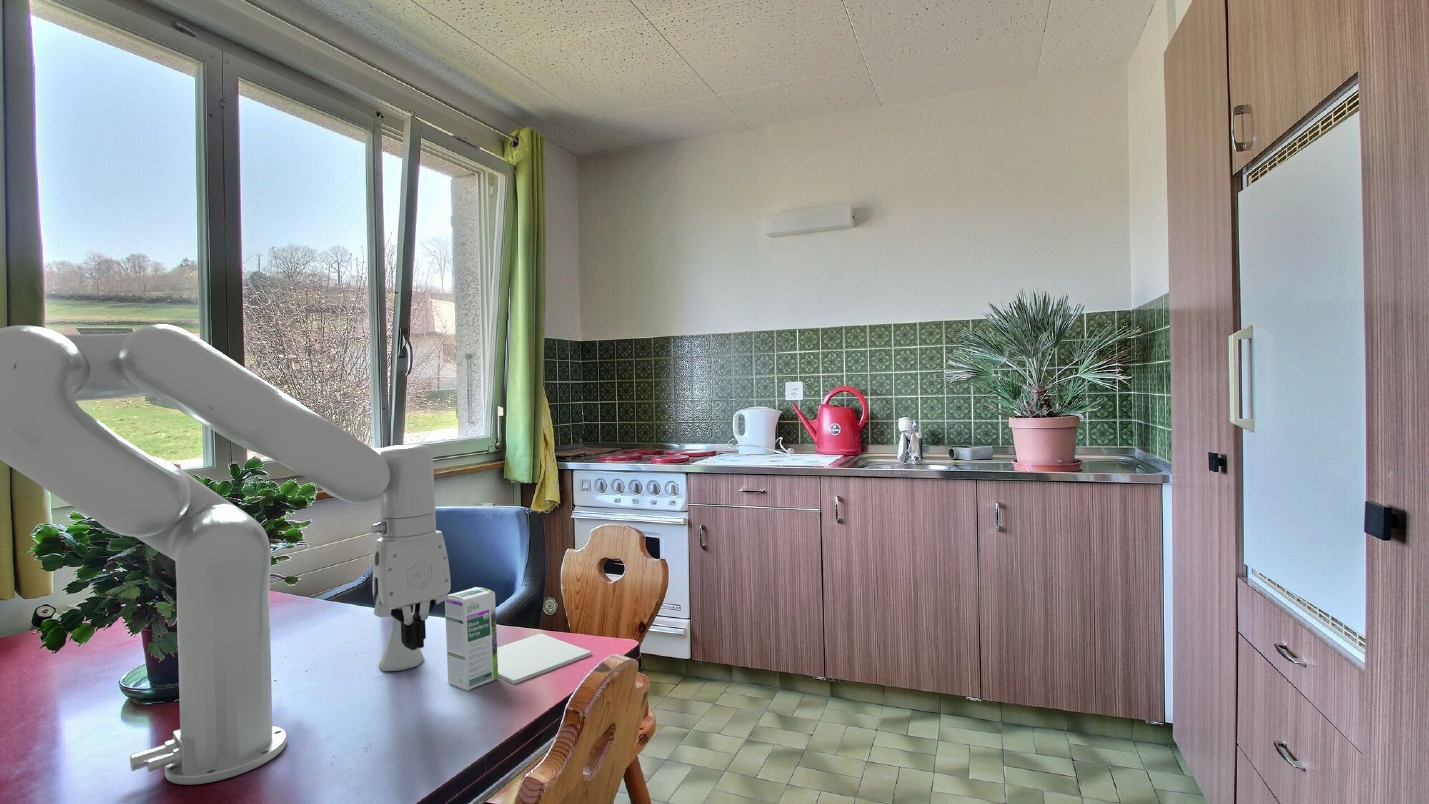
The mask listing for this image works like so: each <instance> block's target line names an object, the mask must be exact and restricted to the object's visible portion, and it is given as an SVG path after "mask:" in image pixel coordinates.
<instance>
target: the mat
mask: <svg viewBox="0 0 1429 804" xmlns="http://www.w3.org/2000/svg"><path fill="white" fill-rule="evenodd" d="M589 656H592V651H591V650H588V649H586V648H583V647H580V646H577V645H575V644H572V643H568V642H566V641H563V640H560V639H558V638H554V637H553V636H550V635H546V634H544V633H538V634H535V635H531V636H529V637H528V636H527V637H526V638H523V639H520V640H516V641H513V642H511V643H507V644H504V645H501V646H497V660H498V679H499V678H500V679H501V680H503V681H505V682H508V683H509V684H513V685H517V684H519V683H521V682H524V681H527V680H529V679H532V678H534V677H537V676H541V675H542V674H545V673H548V672H550V671H553V670H556V669H558V668H561V667H564V666H567V665H569V664H571V663H574V662H577V661H579V660H581V659H584V658H587V657H589Z"/></svg>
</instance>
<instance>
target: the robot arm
mask: <svg viewBox="0 0 1429 804" xmlns="http://www.w3.org/2000/svg"><path fill="white" fill-rule="evenodd" d="M149 396H153V397H155V398H157V399H158V400H160V401H162V402H163V403H165V404H167V405H168V406H171V407H172V408H173V409H175V410H178V411H179V412H180V413H182V414H185V415H186V416H187V417H190V418H191V419H193V420H195V421H197V422H198V423H199V424H201V425H203V426H205V427H207V428H209V429H210V430H212V431H214V433H217V434H218V435H220V436H222V437H224V438H225V439H227V440H229V441H231V442H232V443H234V444H237V446H240V447H242V448H243V449H246V450H248V451H251V452H254V453H256V454H258V455H259V454H260V455H262V456H264V457H267V458H269V459H272V460H273V461H276V462H277V463H280V464H281V465H282V466H285V467H287V468H288V469H290V470H292V471H294V472H296V473H297V474H299V475H301V476H303V477H304V478H307V479H308V480H310V481H311V482H313V483H314V484H316V485H318V486H319V487H320V489H321V490H322V491H323V492H324V493H325V494H327V495H329V496H330V497H333V498H335V499H338V500H341V501H344V502H345V503H350V504H366V503H369V502H372V501H374V500H376V499H377V498H378V497H379V505H380V506H379V507H380V508H379V509H380V510H379V511H380V517H379V519H378V520H379V522H377V523H374V524H372V525H371V528H370V530H371V533H372V534H378V535H380V536H381V537H380V538H378V539H377V540H376V544H375V551H374V556H373V558H374V559H373V565H372V598H373V601H374V604H375V605H374V609H373V614H374V616H376V617H378V618H390V617H391V618H392V617H394V618H395V619H397V620H398V621H400V622H401V640H402V644H403V645H404V646H405V647H407V648H409V649H411V650H416V649H417V648H420V649H422V648H424V646H425V643H424V642H425V641H424V640H426V638H427V633H426V631H427V630H426V620H428V618H429V616H430V615H429V614H430V613H431V612H432V610H433V608H435V606H436V605H439V604H440V603H442V602H445V600H446V599H447V598H448V595H449V593H450V591H451V587H452V586H451V585H452V584H451V573H450V563H449V556H448V552H447V546H446V543H445V539H444V535H443V532H442V531H441V530H437V520H436V518H437V517H436V516H437V515H436V496H435V475H434V474H435V473H434V471H435V470H434V454H433V450H432V448H430V447H429V445H426V444H420V443H419V444H418V443H417V444H416V443H413V444H400V445H398V444H397V445H391V446H386V447H381V448H379V447H378V448H377V447H376V448H375V447H371V446H369V445H367V444H366V443H364V442H363V441H361V440H359V439H358V438H357V437H355V436H353V435H352V434H350V433H349V432H347V431H345V430H344V429H342V428H340V426H337V425H336V424H334V423H333V422H331V421H329V420H328V419H326V418H324V417H322V416H321V415H320V414H317V413H316V412H314V411H313V410H311V409H309V408H307V407H306V406H305V405H303V404H301V402H299V401H298V400H296V399H294V398H293V397H291V396H290V395H288V394H286V393H285V392H283V391H281V390H279V389H278V388H276V387H275V386H274V385H272V384H271V383H268V382H267V381H265V380H263V378H261V377H259V376H257V375H256V374H255V373H253V372H251V371H250V370H248V369H246V368H245V367H243V366H242V365H240V364H239V363H237V362H236V361H234V359H231V358H230V357H228V356H227V355H225V354H223V352H221V351H219V350H217V349H216V348H214V347H213V346H211V345H210V344H208V343H207V342H205V341H204V340H202V339H200V338H198V337H197V336H196V335H194V334H192V333H190V332H188V331H187V330H185V329H183V328H181V327H178V326H174V325H170V324H161V323H160V324H152V325H147V326H144V327H142V328H139V329H138V330H135V331H133V332H129V333H128V332H127V333H124V332H123V333H95V334H94V333H93V334H87V333H86V334H81V333H80V334H77V333H76V334H60V333H58V332H56V331H54V330H51V329H48V328H45V327H41V326H34V325H22V324H21V325H19V324H18V325H10V326H4V327H2V328H0V461H2V462H3V463H5V464H7V465H8V466H10V468H12V469H14V471H15V470H16V471H17V472H18V473H20V474H22V475H23V476H25V477H27V478H28V479H30V480H31V481H33V482H34V483H36V484H38V485H39V486H40V487H42V488H44V489H45V490H46V491H48V492H49V493H51V494H53V495H54V496H56V497H58V498H59V499H61V500H63V501H64V502H65V503H68V504H69V505H70V506H72V507H74V508H76V509H77V510H78V511H81V512H82V513H84V514H85V515H87V516H88V517H89V518H91V519H92V520H94V521H96V522H97V523H98V524H100V525H101V526H102V527H103V528H106V529H107V530H108V531H111V532H113V533H115V534H118V535H121V536H127V537H134V538H135V539H138V540H139V541H141V542H143V543H144V544H146V545H147V546H149V547H151V548H153V549H154V550H156V551H158V552H159V553H161V554H162V555H165V556H166V557H168V558H170V559H172V560H173V561H174V562H175V580H176V631H177V633H176V635H177V650H178V652H177V653H178V654H177V656H178V658H177V659H178V690H179V693H178V694H179V696H178V697H179V729H177V730H174V731H173V732H172V733H173V734H172V735H173V737H172V739H169V740H166V741H164V742H163V745H160V746H157V747H153V748H151V749H150V748H148V749H144V750H142V751H139V752H136V753H132V754H130V756H129V763H130V770H131V772H134V771H138V770H140V769H143V768H147V772H148V773H150V772H153V771H157V770H159V769H162V768H163V767H164V777H165V779H166V780H167V781H169V782H171V783H173V784H177V785H187V786H188V785H202V784H207V783H214V782H218V781H222V780H226V779H229V778H232V777H236V776H239V775H242V774H244V773H247V772H249V771H251V770H254V769H256V768H260V766H262V765H264V764H266V763H267V762H269V761H271V760H272V759H274V758H275V757H277V756H278V755H279V754H280V753H281V752H283V750H284V749H285V747H286V746H287V743H288V742H287V740H288V739H287V738H288V737H287V736H288V735H287V733H286V730H284V729H283V728H281V727H279V726H273V700H272V699H273V698H272V697H273V696H272V695H273V694H272V691H273V690H272V688H273V687H272V655H271V654H272V653H271V651H272V650H271V649H272V647H271V627H270V626H271V623H270V583H271V582H270V581H271V571H272V570H271V566H272V552H271V550H272V549H271V544H270V540H269V537H268V534H267V533H266V530H265V528H264V527H263V526H262V524H261V523H260V522H258V521H257V519H255V518H254V517H252V516H251V515H250V514H248V513H247V512H245V511H244V510H242V509H241V508H239V507H238V506H236V505H235V504H234V503H232V502H230V501H229V500H227V499H225V497H223V496H221V495H220V494H218V493H217V492H216V491H215V490H212V489H211V488H209V487H208V486H206V485H205V484H204V483H202V482H201V481H199V480H198V479H196V478H194V476H192V475H190V474H188V473H187V472H186V471H184V470H183V469H181V468H180V467H178V466H177V465H175V464H174V463H172V462H170V461H168V460H165V459H163V458H159V457H157V456H156V457H155V456H152V455H150V454H148V453H146V452H145V451H143V450H142V449H140V448H138V447H137V446H135V444H132V443H130V442H129V441H128V440H126V439H125V438H123V437H121V436H120V435H119V434H117V433H116V432H115V431H113V430H112V429H110V428H109V427H108V426H106V424H104V423H102V422H100V421H99V420H97V419H96V418H95V417H93V416H92V415H91V414H88V413H87V412H86V411H85V410H84V409H82V408H81V406H80V405H79V404H78V403H77V402H79V401H80V402H82V401H83V402H84V401H98V400H112V399H126V398H127V399H128V398H129V399H130V398H138V397H140V398H141V397H149ZM410 606H412V607H413V608H411V607H410Z"/></svg>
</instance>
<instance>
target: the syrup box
mask: <svg viewBox="0 0 1429 804" xmlns="http://www.w3.org/2000/svg"><path fill="white" fill-rule="evenodd" d="M444 610H445V615H444V617H445V637H446V642H445V643H446V662H447V663H446V664H447V682H448V684H449V685H452V684H453V685H454V687H456V686H457V687H456V688H457V689H458V688H459V689H460V690H464V691H466V692H469V691H471V690H472V689H476V688H477V687H481V686H483V685H485V684H488V683H491V682H494V681H496V680H498V679H499V677H498V660H497V648H498V638H497V636H498V635H497V616H496V615H497V609H496V593H495V591H494V590H491V589H489V588H485V587H479V586H478V587H477V586H474V587H472V588H469V589H464V590H463V591H462V590H461V591H458V592H454V593H450V594H449V593H448V598H447V599H446V600H444ZM453 685H452V686H453Z"/></svg>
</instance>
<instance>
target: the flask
mask: <svg viewBox="0 0 1429 804" xmlns="http://www.w3.org/2000/svg"><path fill="white" fill-rule="evenodd" d="M411 606H412V605H410V607H411ZM391 619H392V621H391V626H390V632H389V634H388V638H387V641H386V644H385V647H384V650H383V652H382V653H383V654H382V655H381V658H380V662H379V665H378V667H379V668H380V670H381V671H382V672H394V671H395V672H396V671H397V672H398V671H404V670H407V669H411V668H415V667H418V666H420V664H422V663H423V661H425V657H424V654H423V653H422V650H421V648H417V649H416V650H411V649H409V648H407V647H405V646H404V645H403V644H402V640H401V622H400V621H398V620H397V619H395V618H394V617H391Z"/></svg>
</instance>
